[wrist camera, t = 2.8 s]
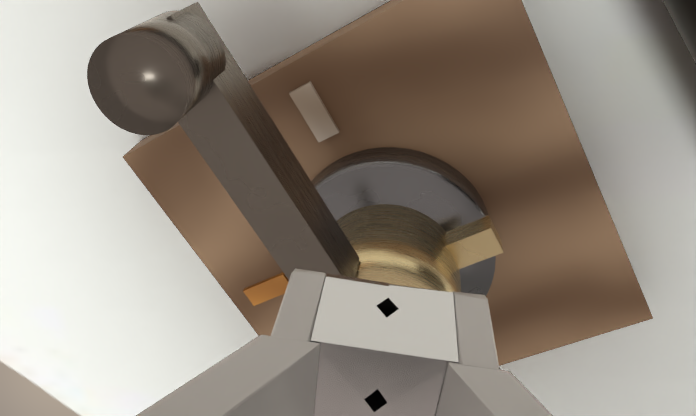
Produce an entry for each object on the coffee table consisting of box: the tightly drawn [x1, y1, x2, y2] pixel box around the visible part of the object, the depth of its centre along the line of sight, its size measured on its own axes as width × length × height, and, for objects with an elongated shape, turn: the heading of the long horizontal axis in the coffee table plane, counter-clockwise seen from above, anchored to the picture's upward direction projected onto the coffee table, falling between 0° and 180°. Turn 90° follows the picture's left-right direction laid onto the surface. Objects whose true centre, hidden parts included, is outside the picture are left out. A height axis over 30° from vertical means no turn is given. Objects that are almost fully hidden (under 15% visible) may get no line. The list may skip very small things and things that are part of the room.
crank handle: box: [87, 2, 504, 292], centre depth 20 cm, size 16×10×8 cm, turn 29°
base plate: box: [123, 0, 653, 366], centre depth 28 cm, size 18×18×2 cm
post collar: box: [311, 147, 496, 296], centre depth 26 cm, size 9×9×2 cm
